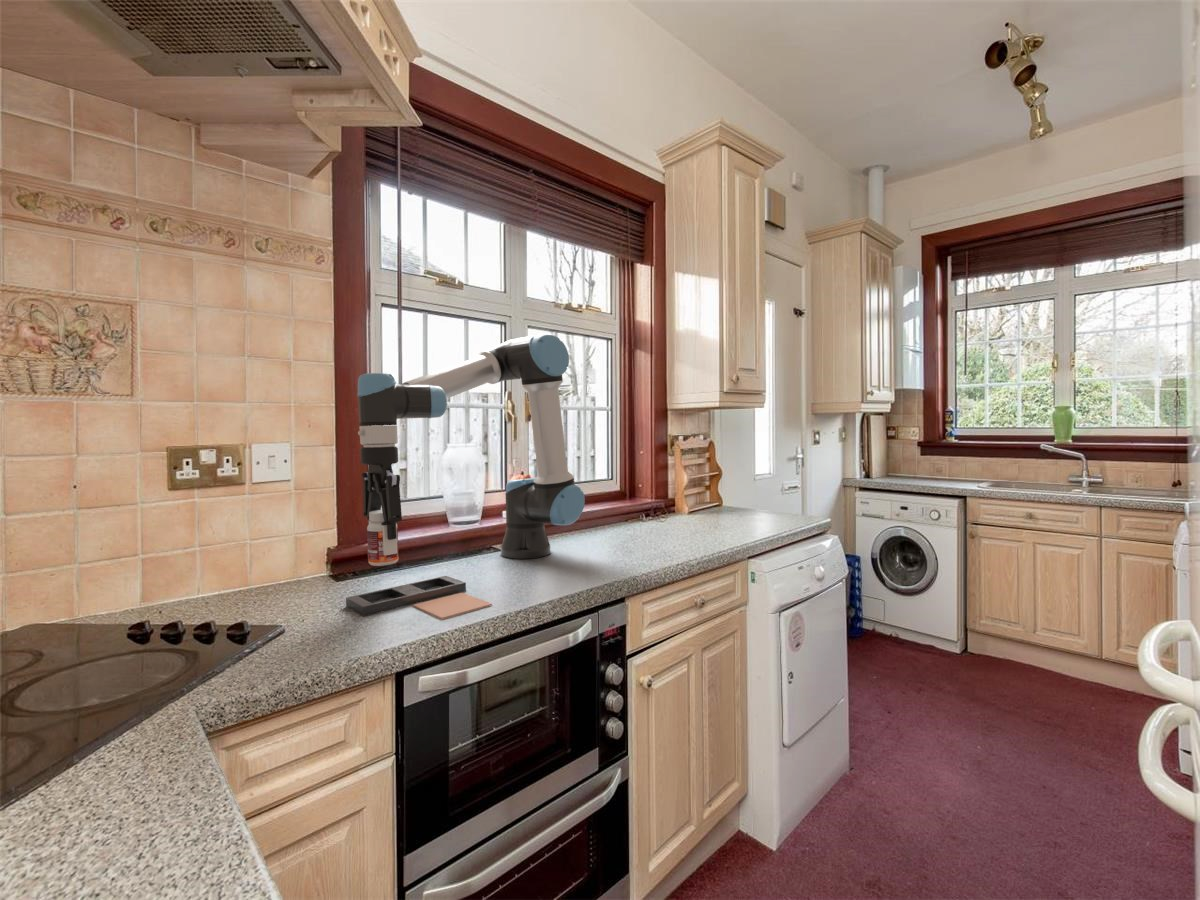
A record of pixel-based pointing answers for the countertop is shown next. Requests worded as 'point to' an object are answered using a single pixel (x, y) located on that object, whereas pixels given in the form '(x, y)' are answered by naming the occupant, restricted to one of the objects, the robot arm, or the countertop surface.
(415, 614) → the countertop surface
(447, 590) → the compartment tray
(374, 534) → the pill bottle
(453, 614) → the plate
